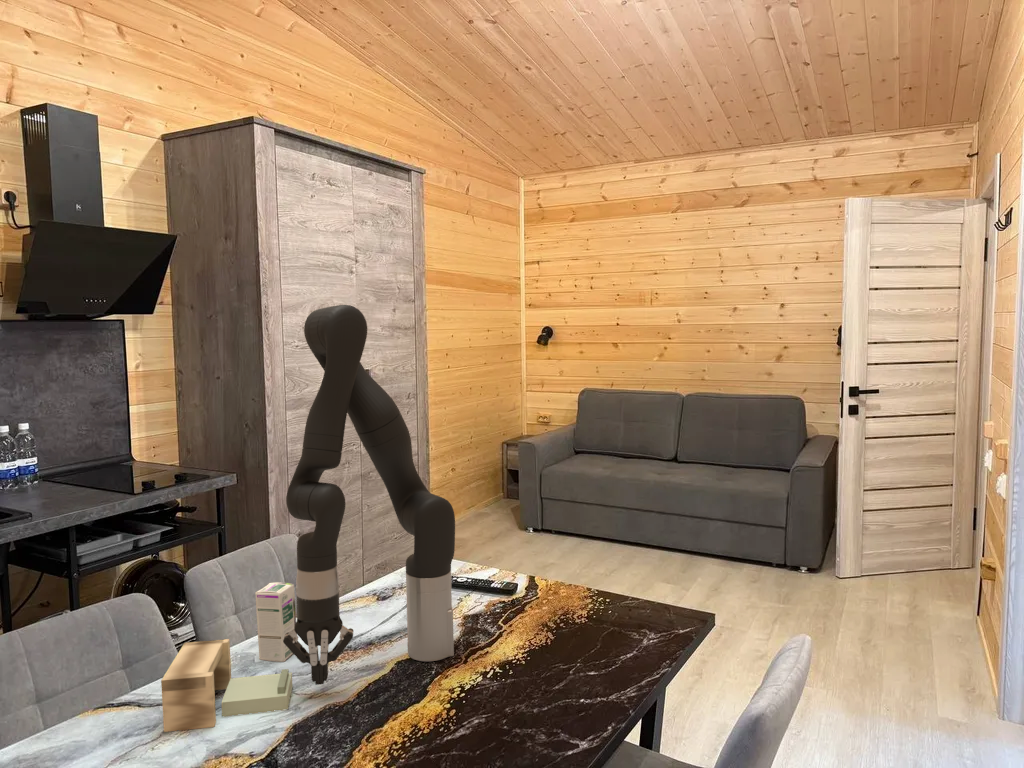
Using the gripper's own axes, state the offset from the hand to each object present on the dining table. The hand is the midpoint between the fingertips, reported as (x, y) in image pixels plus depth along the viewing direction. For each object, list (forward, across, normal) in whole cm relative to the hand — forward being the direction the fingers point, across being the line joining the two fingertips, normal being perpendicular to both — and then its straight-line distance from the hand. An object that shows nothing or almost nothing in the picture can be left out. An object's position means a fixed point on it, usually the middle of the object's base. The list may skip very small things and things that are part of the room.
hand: (319, 682), depth 137 cm
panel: (+3, +11, 0) cm, 11 cm away
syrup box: (+3, +10, -19) cm, 21 cm away
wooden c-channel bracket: (+3, +21, 0) cm, 21 cm away
